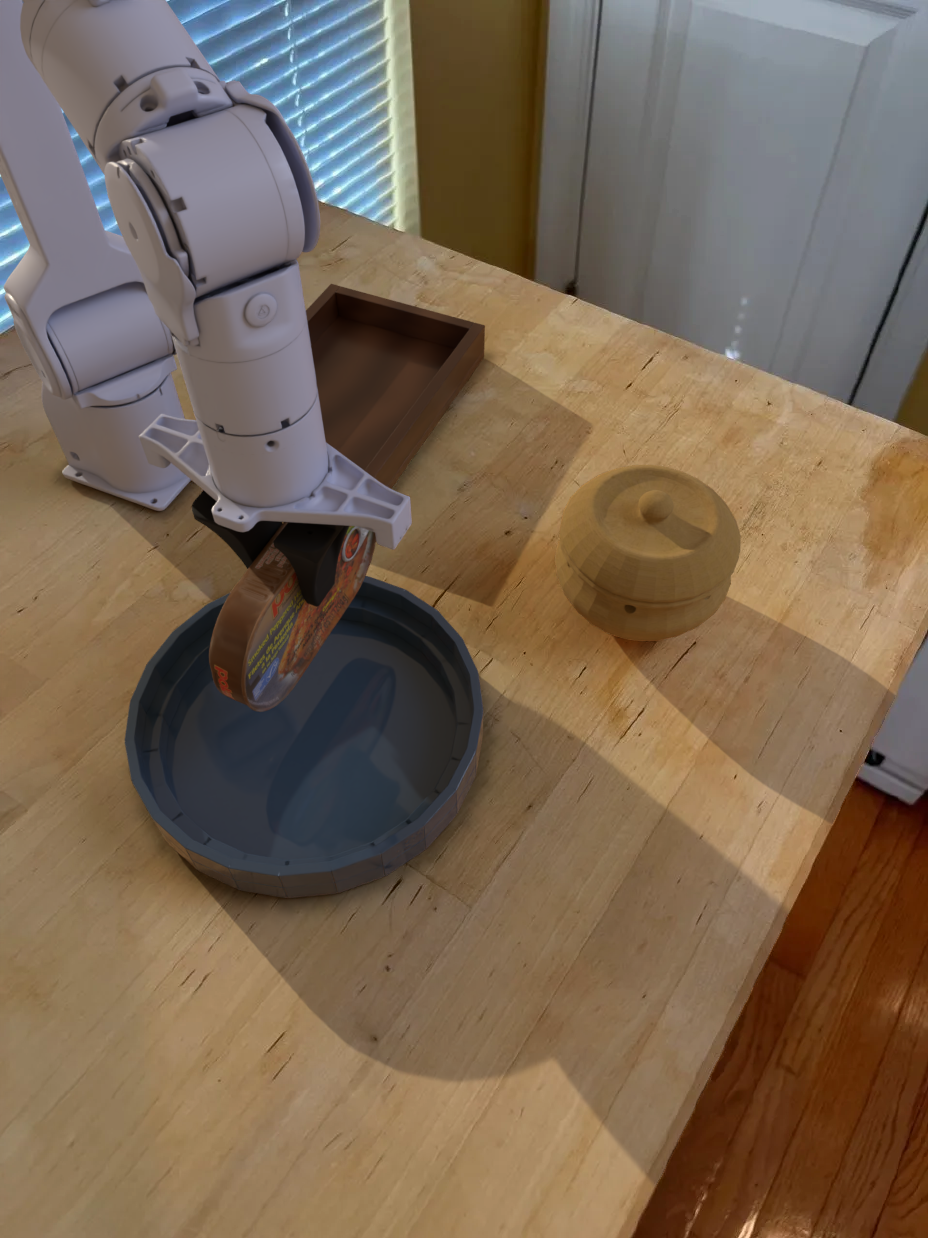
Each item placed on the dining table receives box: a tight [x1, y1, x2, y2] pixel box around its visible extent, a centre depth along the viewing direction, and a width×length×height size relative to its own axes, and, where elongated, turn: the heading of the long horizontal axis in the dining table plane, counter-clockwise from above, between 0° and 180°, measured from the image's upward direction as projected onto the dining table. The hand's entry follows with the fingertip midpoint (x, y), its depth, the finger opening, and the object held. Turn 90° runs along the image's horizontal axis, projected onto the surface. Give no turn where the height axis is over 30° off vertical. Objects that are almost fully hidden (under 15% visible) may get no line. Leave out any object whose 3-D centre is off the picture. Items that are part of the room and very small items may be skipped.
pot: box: [554, 464, 742, 642], centre depth 62 cm, size 12×12×10 cm
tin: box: [209, 522, 377, 712], centre depth 54 cm, size 15×3×8 cm, turn 155°
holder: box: [306, 283, 486, 489], centre depth 77 cm, size 15×21×3 cm
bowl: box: [124, 575, 484, 899], centre depth 58 cm, size 21×21×4 cm
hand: (296, 583), depth 54 cm, fingers closed on tin, 2 cm apart
